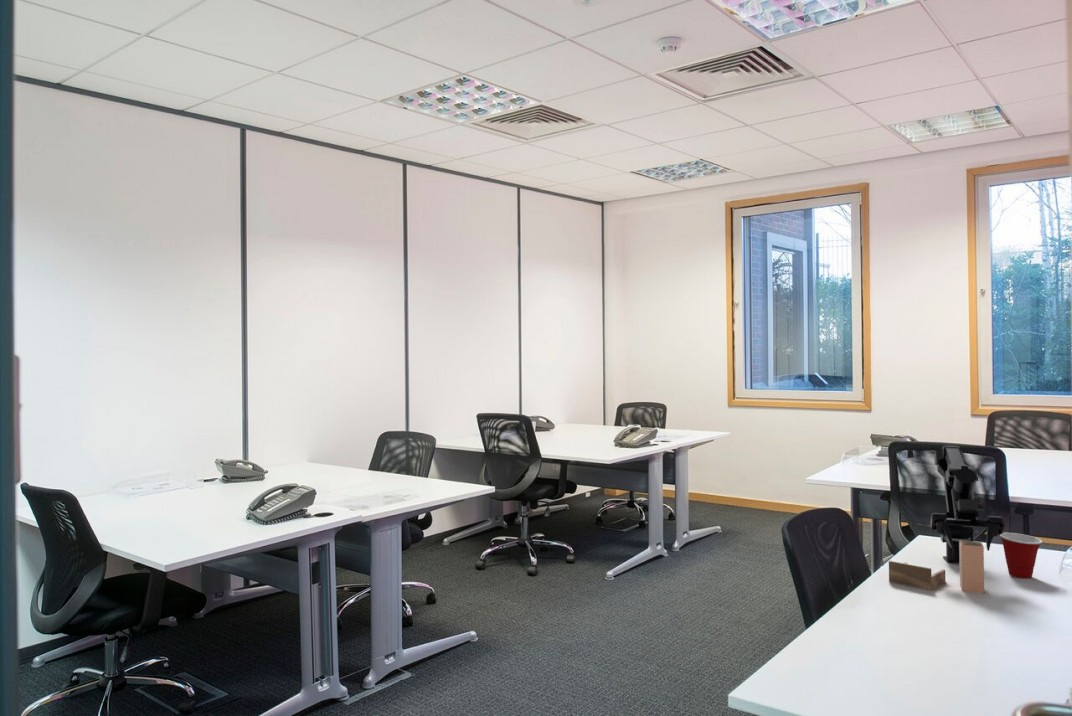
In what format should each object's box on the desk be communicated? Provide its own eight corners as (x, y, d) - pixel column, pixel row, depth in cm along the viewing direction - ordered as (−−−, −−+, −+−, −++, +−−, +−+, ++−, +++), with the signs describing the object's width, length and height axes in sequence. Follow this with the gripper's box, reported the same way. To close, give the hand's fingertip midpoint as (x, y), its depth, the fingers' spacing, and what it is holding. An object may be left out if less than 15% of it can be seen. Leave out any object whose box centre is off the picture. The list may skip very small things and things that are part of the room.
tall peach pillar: (959, 585, 217) (959, 539, 217) (981, 587, 215) (981, 541, 215) (961, 590, 212) (961, 544, 212) (984, 593, 210) (983, 545, 210)
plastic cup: (1041, 583, 218) (1041, 542, 218) (998, 577, 224) (997, 537, 224) (1044, 574, 226) (1043, 535, 226) (1002, 569, 233) (1001, 530, 233)
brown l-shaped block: (904, 573, 229) (904, 554, 229) (945, 581, 221) (945, 561, 221) (889, 581, 222) (888, 561, 222) (930, 590, 213) (930, 569, 213)
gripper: (931, 486, 225) (935, 531, 215) (1003, 489, 218) (1011, 536, 208) (928, 507, 232) (933, 551, 222) (997, 510, 225) (1006, 556, 215)
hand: (970, 548), depth 217 cm, fingers open, 9 cm apart
